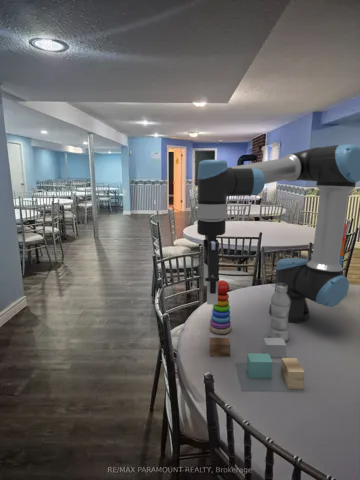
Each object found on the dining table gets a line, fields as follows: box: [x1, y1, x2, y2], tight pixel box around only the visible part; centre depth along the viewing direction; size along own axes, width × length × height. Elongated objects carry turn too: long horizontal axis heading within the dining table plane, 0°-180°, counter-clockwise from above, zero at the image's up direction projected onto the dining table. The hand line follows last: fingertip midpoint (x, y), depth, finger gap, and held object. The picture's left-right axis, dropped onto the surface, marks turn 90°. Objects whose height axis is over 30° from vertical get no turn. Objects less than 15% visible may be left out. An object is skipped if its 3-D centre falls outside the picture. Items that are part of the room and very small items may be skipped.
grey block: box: [262, 337, 288, 358], centre depth 93 cm, size 6×4×5 cm, turn 88°
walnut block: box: [208, 336, 231, 358], centre depth 93 cm, size 6×4×5 cm, turn 89°
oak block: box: [280, 357, 305, 390], centre depth 80 cm, size 6×4×5 cm, turn 178°
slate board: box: [234, 362, 305, 393], centre depth 82 cm, size 16×12×1 cm
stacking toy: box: [209, 279, 232, 335], centre depth 107 cm, size 8×8×19 cm
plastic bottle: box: [268, 283, 291, 343], centre depth 100 cm, size 6×7×20 cm
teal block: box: [246, 352, 274, 379], centre depth 83 cm, size 6×4×5 cm, turn 88°
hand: (210, 294), depth 84 cm, fingers open, 13 cm apart
